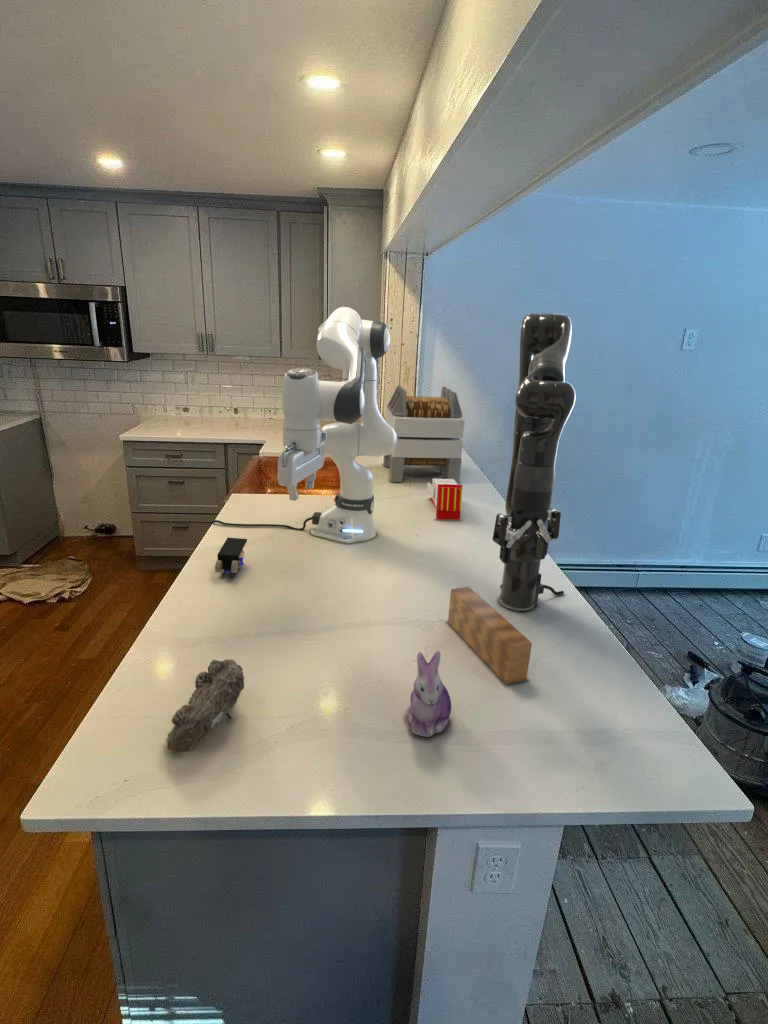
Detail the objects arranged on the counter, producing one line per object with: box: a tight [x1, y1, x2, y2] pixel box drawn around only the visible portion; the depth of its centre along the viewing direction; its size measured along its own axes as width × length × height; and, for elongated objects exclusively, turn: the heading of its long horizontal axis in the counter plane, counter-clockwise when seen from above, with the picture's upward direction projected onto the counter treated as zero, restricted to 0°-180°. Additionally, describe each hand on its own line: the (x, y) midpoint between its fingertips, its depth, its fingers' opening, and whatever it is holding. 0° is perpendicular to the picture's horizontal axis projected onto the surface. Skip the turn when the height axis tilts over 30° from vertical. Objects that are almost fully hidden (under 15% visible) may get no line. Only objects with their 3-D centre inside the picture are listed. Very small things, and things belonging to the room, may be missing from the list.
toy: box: [426, 478, 463, 521], centre depth 226 cm, size 12×13×30 cm
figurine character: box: [214, 537, 248, 578], centre depth 166 cm, size 7×8×15 cm
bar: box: [447, 586, 533, 686], centre depth 132 cm, size 27×5×10 cm, turn 22°
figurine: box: [407, 650, 452, 738], centre depth 107 cm, size 9×10×15 cm
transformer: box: [383, 384, 465, 484], centre depth 268 cm, size 34×33×41 cm
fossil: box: [166, 658, 245, 754], centre depth 106 cm, size 22×10×15 cm
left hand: (302, 494), depth 140 cm, fingers open, 8 cm apart
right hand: (522, 560), depth 116 cm, fingers open, 8 cm apart
